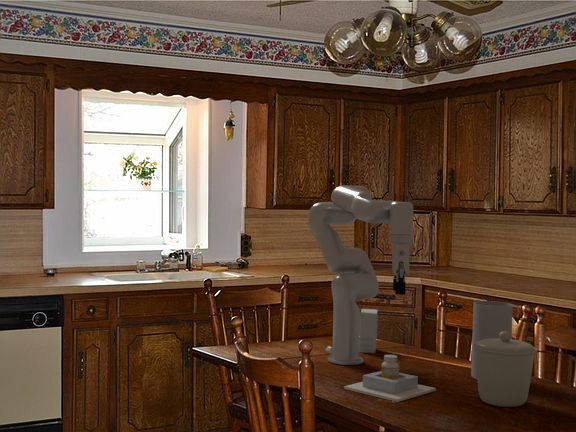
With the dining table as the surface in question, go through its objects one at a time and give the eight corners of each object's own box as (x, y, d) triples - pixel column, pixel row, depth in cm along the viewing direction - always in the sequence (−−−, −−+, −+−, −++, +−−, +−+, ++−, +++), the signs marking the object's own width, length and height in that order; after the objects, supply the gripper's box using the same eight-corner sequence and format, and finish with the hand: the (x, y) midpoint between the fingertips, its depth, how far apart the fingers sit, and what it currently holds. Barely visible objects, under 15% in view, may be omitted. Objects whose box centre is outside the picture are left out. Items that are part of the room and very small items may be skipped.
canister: (497, 413, 219) (500, 338, 218) (458, 397, 236) (460, 327, 235) (548, 408, 226) (551, 335, 226) (507, 393, 243) (509, 324, 242)
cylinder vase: (477, 372, 270) (479, 299, 269) (514, 377, 264) (516, 303, 263) (466, 379, 259) (468, 303, 258) (504, 385, 253) (507, 307, 252)
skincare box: (359, 348, 308) (361, 308, 307) (376, 349, 307) (378, 309, 306) (358, 352, 299) (359, 311, 299) (376, 353, 298) (377, 312, 298)
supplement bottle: (395, 390, 240) (396, 358, 239) (378, 387, 242) (379, 356, 241) (400, 386, 244) (401, 355, 244) (383, 383, 247) (384, 353, 246)
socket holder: (344, 388, 243) (344, 374, 242) (383, 378, 257) (383, 365, 257) (397, 401, 229) (397, 387, 229) (435, 390, 243) (436, 376, 243)
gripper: (414, 241, 247) (413, 296, 247) (409, 238, 264) (408, 289, 265) (390, 241, 247) (389, 295, 248) (387, 238, 265) (385, 289, 265)
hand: (399, 292), depth 256 cm, fingers open, 9 cm apart
